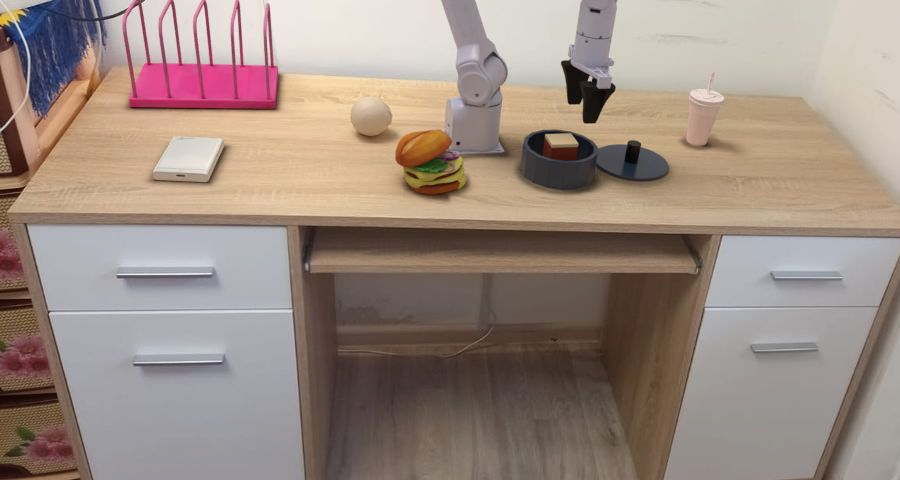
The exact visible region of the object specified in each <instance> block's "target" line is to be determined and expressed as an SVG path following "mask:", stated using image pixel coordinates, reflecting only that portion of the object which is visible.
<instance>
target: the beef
mask: <svg viewBox="0 0 900 480" xmlns="http://www.w3.org/2000/svg"><path fill="white" fill-rule="evenodd" d="M578 145H579V144H578V142H577V141H576V140H575V138H574V137H573V135H572V134H571V133H567V134H545V139H544V147H543V154H542V156H544V157H547V158H550V159H555V160H562V161H576V158H577V151H578Z"/></svg>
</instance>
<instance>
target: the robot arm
mask: <svg viewBox="0 0 900 480" xmlns="http://www.w3.org/2000/svg"><path fill="white" fill-rule="evenodd" d="M440 2H441V5H442V7H443V10H444V13H445V16H446V20H447V22H448V25H449V28H450V31H451V35H452V37H453V40H454V43H455V46H456V58H455V69H456V73H457V84H456V85H457V91H458V93H459V95H458V96H456V97H455V96H454V97H449V98H448V99H446V102H445V103H446V104H445V115H444V129H443V130H444V131H443V132H445V133H446V134H447V135H448V136H449V137H450V138H451V140H452V144H451V145H450V147H449V148H448V150H449V151H453V152H456V153H458V154H459V155H476V154H479V155H480V154H503V153H505V149H504V148H503V147H504V146H503V145H502V143H501V142H500V140H499V136H500V128H501V117H502V107H503V95H502V90H501V87H502V86H503V85H504V83H506V81H507V79H508V77H509V76H508V75H509V69H508V65H507V63H506V61H505V60H504V58H503V57H501V55H500V54H499V52H498V51H497V48H496V47H497V46H496V44H495V43H494V41H491V39H490V38H488V36H487V34H486V30H485V27H484V23H483V21H482V17H481V14H480V10H479V8H478V5H477V1H476V0H440ZM617 3H618V0H581V1H580V5H579V11H578V16H577V17H578V18H577V25H576V30H575V37H574V44H569V47H568V53H567V57H569V60H568V59H564V60H561V61H560V66H561V68H562V71H563V75H564V79H565V88H566V99H567V104H568V105H570V106H571V105H573V106H575V105H581V103H582V122H583V124H586V125H587V124H588V125H589V124H591V125H593V124H597V121H598V120H599V117H600V115H601V113H602V110H603V108H604V107H605V104H606V103H607V102H608V100H609V99H610V97H611V96H612V95H613V94H614V93H615V92H616V89H617V86H616V84H614V83H613V82H612V80H613V76H612V75H611V73H610V67H613V66H614V65H615V61H614V60H613V59H612V58H611V57H609V56H610V51H611V45H612V39H613V34H614V26H615V22H616V16H617V10H618V5H617ZM590 77H591V80H589V79H590Z"/></svg>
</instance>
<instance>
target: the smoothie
mask: <svg viewBox="0 0 900 480" xmlns="http://www.w3.org/2000/svg"><path fill="white" fill-rule="evenodd" d="M715 73H716V71H714V70H713V71H711V74H710V78H709V81H708V84H707V85H708V86H707V88H695V89H692V90H690V92H689V95H688V100H689V106H688V117H687V126H686V135H685V136H686V137H685V141H686V142H687V143H689V144H690V145H693V146H705V145H706V144H707V143H708V140H709V138H710V135H711V132H712V129H713V127H714V124H715V122H716V120H717V117H718V114H719V112H720V109H721V107H722V106H724V104H725V96H724V95H723V94H721V93H720V92H717V91H716V90H712V86H713V81H714V77H715V75H716V74H715Z"/></svg>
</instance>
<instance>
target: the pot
mask: <svg viewBox="0 0 900 480" xmlns="http://www.w3.org/2000/svg"><path fill="white" fill-rule="evenodd" d="M567 133H571V134H572V135H573V137H574V138H575V140H576V141H577V142H578V144H579V145H578V151H577V158H576V161H562V160H555V159H550V158H547V157H544V156H542V154H543V147H544V139H545V134H567ZM598 149H599V147H598V146H597V144H596V143H595V142H594V140H592V139H590V138H588V137H587V136H586V135H583V134H579V133H576V132H573V131H570V130H564V129H554V128H553V129H541V130H537V131H533V132H530V133H529V134H527V135H526V136H524V139H523V143H522V150H521V159H520V168H519V170H520V173H521V174H522V176H523V178H524V179H527V180H528V181H529V182H531V183H533V184H534V185H538V186H540V187H544V188H546V189H551V190H552V189H553V190H559V191H567V190H569V191H570V190H577V189H582V188H584V187H588V186H589V185H590V184H591V183H592V182H594V178H595V171H596V167H597V166H596V161H597V155H598Z"/></svg>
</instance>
